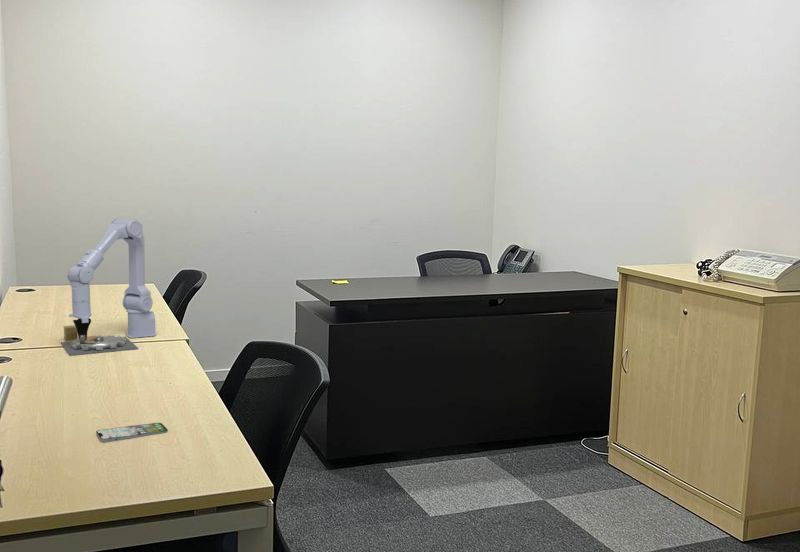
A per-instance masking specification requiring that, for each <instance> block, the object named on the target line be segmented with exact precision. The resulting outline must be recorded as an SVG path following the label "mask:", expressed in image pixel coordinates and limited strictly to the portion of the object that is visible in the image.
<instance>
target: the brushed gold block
mask: <svg viewBox="0 0 800 552" xmlns="http://www.w3.org/2000/svg"><path fill="white" fill-rule="evenodd" d="M75 339H79V337H78V333H77V329H76V326H75V324H74V325H73V324H72V325H64V326H63V340H64V342H71V341H73V340H75Z"/></svg>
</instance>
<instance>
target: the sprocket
mask: <svg viewBox="0 0 800 552" xmlns="http://www.w3.org/2000/svg"><path fill="white" fill-rule="evenodd" d="M124 337H125V336H119V335H118V336H115V335H111V334H110V335H109V334H108V335H105V336H104V335H88V336H87V339H86V340H85V334H81V335H80V340H79V338H78V339H75V340H73V342H71V341H70V342H71V347H73V348H74V349H80V348H82V350H90V349H96V350H103V349H104V348H110V349H112V348H117V347H116V346H123V345H125V343H126V338H127V337H126V338H124Z"/></svg>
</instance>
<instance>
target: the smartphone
mask: <svg viewBox="0 0 800 552" xmlns="http://www.w3.org/2000/svg"><path fill="white" fill-rule="evenodd" d="M167 433H169V432H168V428H167V427H166V426H165V425H164V424H163V423H162V422H153V423H146V424H145V423H144V424H136V425H135V424H134V425H129V426H120V427H114V428H113V427H112V428H104V429H97V430H96V432H95V435H96V437H97V439H98V440H99V441H100V442H101V443H111V442H112V443H113V442H118V441H119V442H120V441H123V440H131V439H136V438H137V439H138V438H142V437H148V436H154V435H161V434H167Z"/></svg>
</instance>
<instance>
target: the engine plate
mask: <svg viewBox="0 0 800 552" xmlns="http://www.w3.org/2000/svg"><path fill="white" fill-rule="evenodd" d="M123 337H124V338H126V343H125V345H123V346H116V347H117V348H112V349H110V348H104V349H103V350H96V349H90V350H82V348H80V349H74V348H73V347H71V342H73V341H68V342H66V341H61V342H60V345H61V346H62V347H63V349H64V350H65V352H66V353H67V355H68V356H70V357H73V356H82V355H84V356H85V355H93V354H103V353H113V352H124V351H133V350H134V351H136V350H139V347H138V346H137V345H136V344H134V342H132V341H131V340H130V338H129V337H126V336H123Z"/></svg>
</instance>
